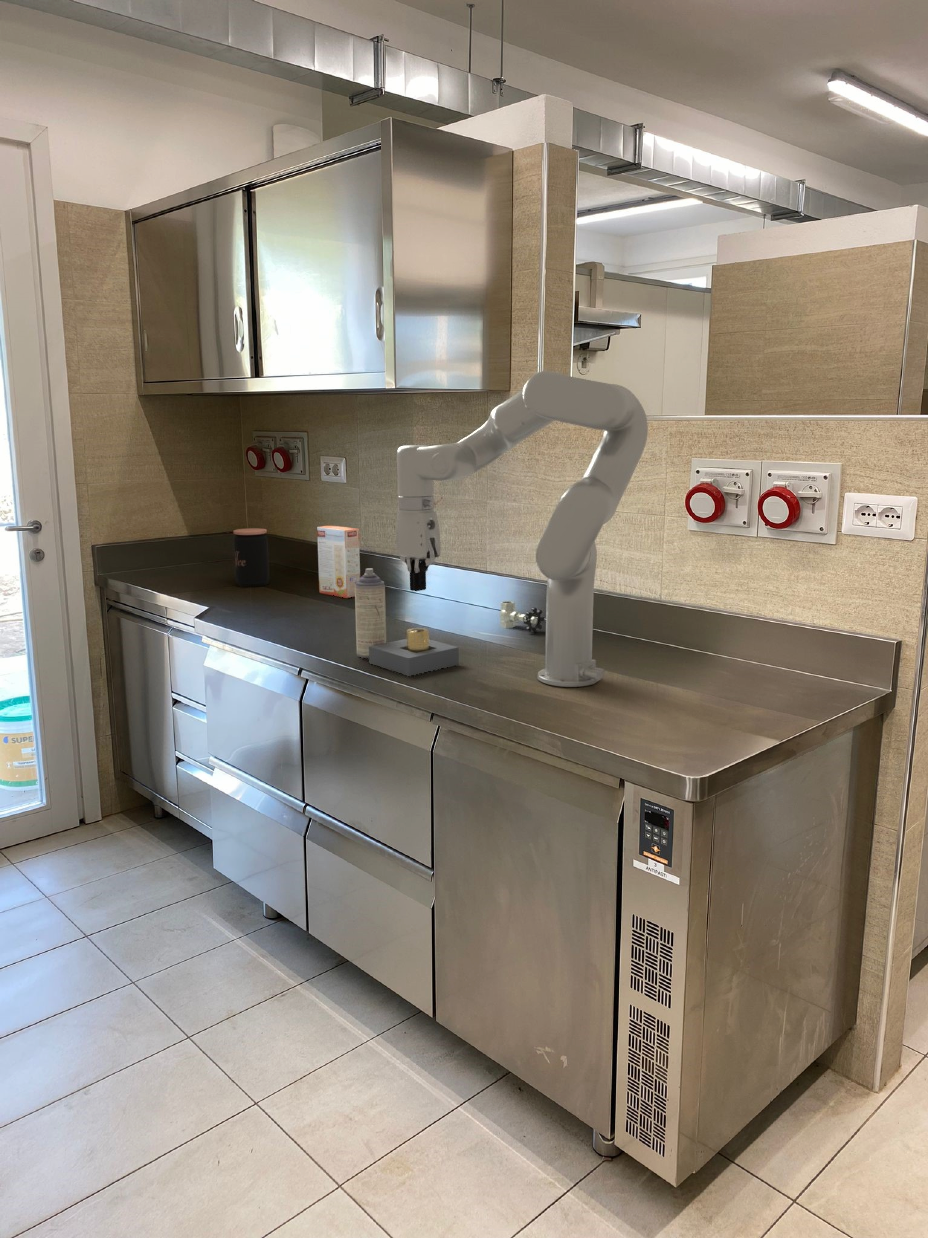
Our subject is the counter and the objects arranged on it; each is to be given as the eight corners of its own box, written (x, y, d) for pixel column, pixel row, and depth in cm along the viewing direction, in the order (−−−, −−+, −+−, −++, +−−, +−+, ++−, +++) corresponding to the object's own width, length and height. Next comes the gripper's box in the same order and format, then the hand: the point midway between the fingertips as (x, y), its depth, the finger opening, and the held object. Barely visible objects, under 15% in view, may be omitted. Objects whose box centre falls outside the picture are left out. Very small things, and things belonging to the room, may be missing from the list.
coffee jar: (235, 583, 306) (232, 528, 302) (268, 581, 309) (265, 527, 305) (237, 588, 296) (234, 532, 292) (271, 586, 299) (268, 531, 295)
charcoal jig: (458, 664, 203) (458, 647, 202) (408, 676, 194) (408, 658, 193) (418, 653, 213) (418, 636, 212) (369, 664, 204) (368, 646, 203)
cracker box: (362, 596, 282) (360, 528, 277) (346, 599, 278) (343, 529, 273) (334, 590, 291) (332, 524, 287) (318, 593, 287) (316, 526, 283)
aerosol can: (391, 653, 213) (389, 567, 209) (378, 660, 207) (376, 572, 203) (365, 650, 216) (362, 565, 212) (351, 657, 210) (348, 570, 205)
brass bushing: (433, 666, 202) (433, 630, 200) (416, 670, 199) (416, 633, 197) (419, 662, 205) (419, 626, 204) (402, 665, 202) (402, 630, 201)
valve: (493, 627, 239) (526, 635, 230) (493, 602, 238) (526, 609, 229) (511, 624, 243) (544, 631, 235) (511, 599, 242) (544, 606, 233)
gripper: (452, 505, 192) (454, 592, 196) (408, 501, 203) (410, 583, 207) (424, 507, 187) (426, 596, 191) (380, 503, 198) (383, 588, 202)
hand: (418, 589), depth 199 cm, fingers closed
